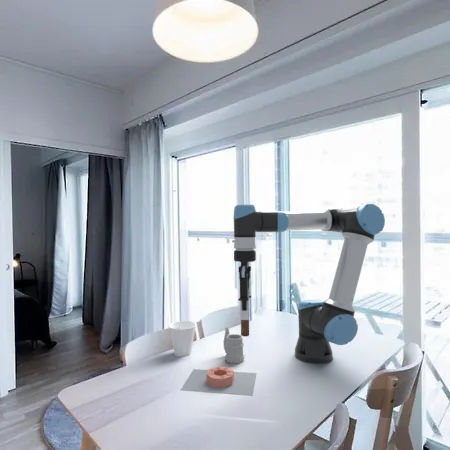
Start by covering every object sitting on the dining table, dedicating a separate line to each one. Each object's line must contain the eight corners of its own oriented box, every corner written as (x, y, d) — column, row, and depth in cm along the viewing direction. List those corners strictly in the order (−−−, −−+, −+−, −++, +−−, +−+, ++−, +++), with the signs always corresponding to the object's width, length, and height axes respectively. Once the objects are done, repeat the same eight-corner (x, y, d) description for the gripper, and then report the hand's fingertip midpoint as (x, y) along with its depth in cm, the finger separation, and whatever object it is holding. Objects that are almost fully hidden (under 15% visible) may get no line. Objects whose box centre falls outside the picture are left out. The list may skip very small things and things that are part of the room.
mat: (256, 374, 119) (256, 373, 119) (252, 396, 103) (252, 395, 103) (193, 370, 123) (193, 369, 123) (180, 391, 108) (180, 390, 108)
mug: (232, 366, 126) (231, 335, 126) (216, 356, 136) (216, 327, 136) (248, 362, 130) (247, 332, 130) (232, 352, 140) (231, 324, 140)
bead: (235, 376, 117) (234, 367, 117) (231, 388, 108) (230, 379, 108) (210, 374, 119) (210, 366, 119) (204, 386, 110) (204, 377, 110)
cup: (178, 361, 131) (178, 331, 132) (163, 353, 140) (163, 324, 140) (202, 353, 139) (201, 324, 139) (186, 346, 148) (186, 319, 148)
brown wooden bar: (249, 333, 112) (249, 287, 112) (248, 336, 109) (248, 289, 110) (241, 333, 113) (241, 287, 113) (240, 336, 110) (240, 288, 110)
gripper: (236, 248, 119) (236, 312, 119) (230, 251, 104) (231, 324, 104) (257, 248, 118) (257, 312, 118) (254, 251, 103) (254, 325, 103)
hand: (245, 318), depth 111 cm, fingers closed on brown wooden bar, 2 cm apart
